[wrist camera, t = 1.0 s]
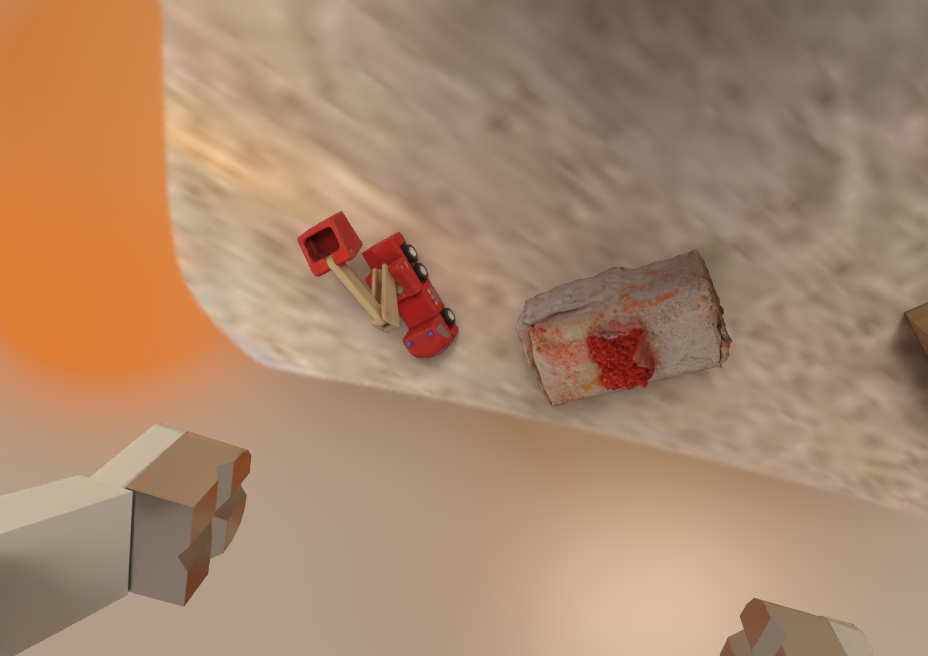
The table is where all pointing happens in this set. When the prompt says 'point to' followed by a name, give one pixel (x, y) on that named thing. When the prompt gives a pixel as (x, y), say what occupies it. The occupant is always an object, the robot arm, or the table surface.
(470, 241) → the table surface
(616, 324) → the grey paint-stained brick
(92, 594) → the robot arm
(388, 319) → the toy fire truck
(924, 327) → the brown wooden block
